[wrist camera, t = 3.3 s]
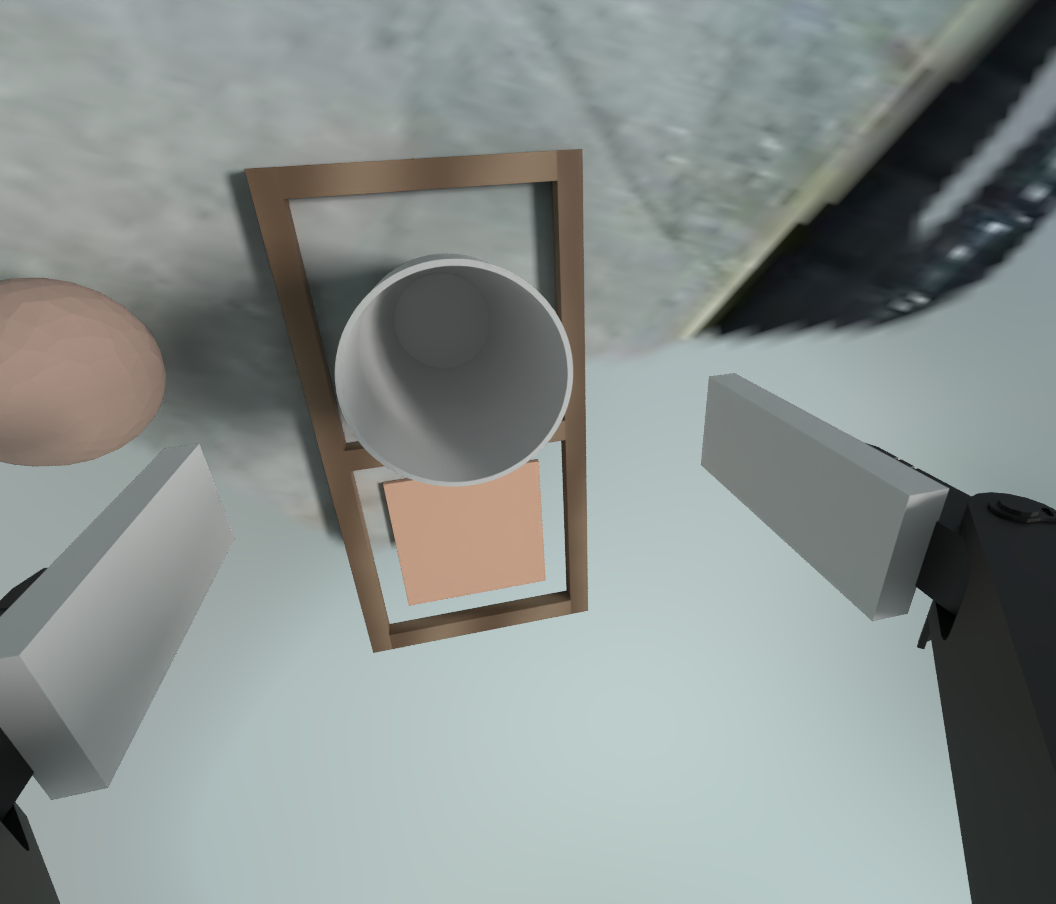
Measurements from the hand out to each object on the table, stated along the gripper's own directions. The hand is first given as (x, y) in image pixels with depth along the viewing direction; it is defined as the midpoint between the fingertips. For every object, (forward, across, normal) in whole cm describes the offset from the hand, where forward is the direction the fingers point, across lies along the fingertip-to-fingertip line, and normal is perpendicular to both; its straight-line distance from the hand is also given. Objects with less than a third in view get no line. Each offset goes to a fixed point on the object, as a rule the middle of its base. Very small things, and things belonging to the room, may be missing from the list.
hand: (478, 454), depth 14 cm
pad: (+15, 0, -13) cm, 20 cm away
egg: (+15, -16, +1) cm, 22 cm away
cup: (+15, 0, 0) cm, 15 cm away
